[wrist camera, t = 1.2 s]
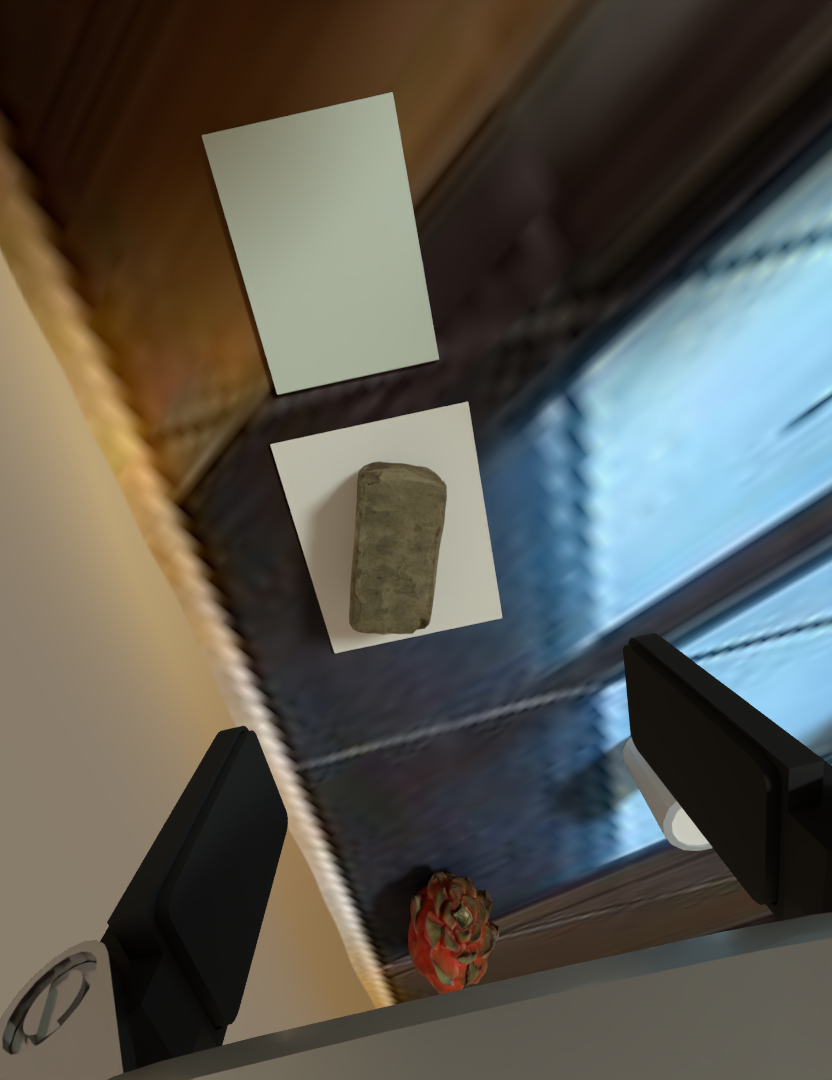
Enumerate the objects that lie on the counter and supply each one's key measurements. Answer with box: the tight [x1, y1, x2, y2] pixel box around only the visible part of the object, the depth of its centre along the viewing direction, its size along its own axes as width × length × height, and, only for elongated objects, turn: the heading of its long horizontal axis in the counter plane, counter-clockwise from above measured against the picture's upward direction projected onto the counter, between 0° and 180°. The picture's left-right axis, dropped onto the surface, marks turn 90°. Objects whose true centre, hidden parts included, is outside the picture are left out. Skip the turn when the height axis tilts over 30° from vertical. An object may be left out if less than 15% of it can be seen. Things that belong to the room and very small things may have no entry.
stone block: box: [349, 462, 447, 635], centre depth 28 cm, size 6×12×5 cm, turn 175°
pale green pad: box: [201, 92, 439, 395], centre depth 25 cm, size 14×11×1 cm
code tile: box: [270, 402, 502, 653], centre depth 30 cm, size 17×14×1 cm
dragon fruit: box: [408, 871, 499, 994], centre depth 38 cm, size 8×8×12 cm
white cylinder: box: [623, 737, 713, 851], centre depth 34 cm, size 7×7×7 cm
